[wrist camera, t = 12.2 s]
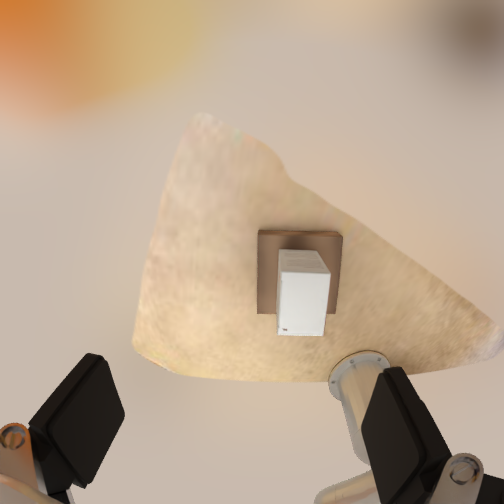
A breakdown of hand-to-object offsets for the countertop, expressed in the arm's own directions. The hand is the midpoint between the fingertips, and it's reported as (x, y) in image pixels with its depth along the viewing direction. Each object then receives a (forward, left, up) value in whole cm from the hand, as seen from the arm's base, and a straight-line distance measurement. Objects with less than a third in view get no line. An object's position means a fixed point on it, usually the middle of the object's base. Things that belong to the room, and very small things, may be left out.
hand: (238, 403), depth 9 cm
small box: (-5, +7, -33) cm, 34 cm away
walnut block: (-6, +7, -37) cm, 38 cm away
